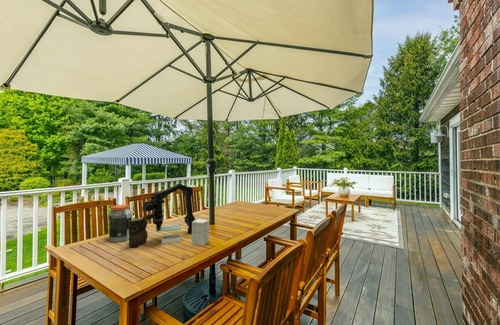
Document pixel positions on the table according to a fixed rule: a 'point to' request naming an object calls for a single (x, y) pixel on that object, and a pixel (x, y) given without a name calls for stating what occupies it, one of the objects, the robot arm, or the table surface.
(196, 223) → the supplement box
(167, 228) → the lid
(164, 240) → the tub
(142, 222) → the owl
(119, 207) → the supplement tub
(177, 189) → the robot arm
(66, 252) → the table surface
